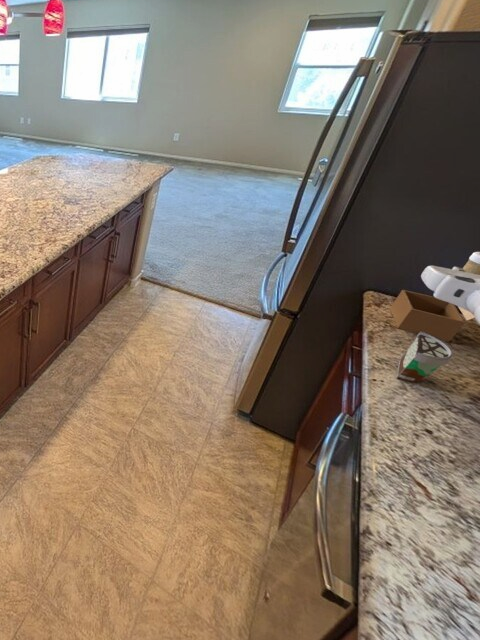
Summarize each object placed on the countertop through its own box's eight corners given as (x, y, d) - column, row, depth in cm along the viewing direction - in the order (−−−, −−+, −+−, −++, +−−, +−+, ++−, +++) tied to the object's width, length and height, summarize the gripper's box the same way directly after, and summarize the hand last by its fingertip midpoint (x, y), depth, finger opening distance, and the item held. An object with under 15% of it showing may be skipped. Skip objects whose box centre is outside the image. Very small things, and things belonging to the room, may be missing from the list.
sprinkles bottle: (437, 292, 107) (468, 250, 100) (456, 293, 106) (489, 251, 100) (451, 302, 103) (485, 259, 96) (471, 303, 103) (507, 260, 96)
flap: (453, 299, 117) (454, 299, 117) (466, 320, 109) (467, 321, 108) (477, 290, 113) (478, 291, 113) (493, 311, 105) (494, 312, 105)
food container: (429, 395, 97) (454, 367, 92) (395, 381, 101) (418, 353, 96) (431, 369, 104) (455, 342, 99) (399, 357, 108) (420, 330, 103)
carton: (437, 319, 121) (452, 301, 117) (449, 342, 113) (465, 322, 109) (389, 307, 127) (402, 289, 123) (397, 328, 118) (411, 309, 114)
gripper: (572, 302, 85) (541, 274, 95) (440, 275, 95) (424, 252, 105) (550, 324, 88) (523, 294, 98) (425, 295, 98) (411, 271, 108)
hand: (471, 272), depth 102 cm, fingers closed on sprinkles bottle, 4 cm apart
